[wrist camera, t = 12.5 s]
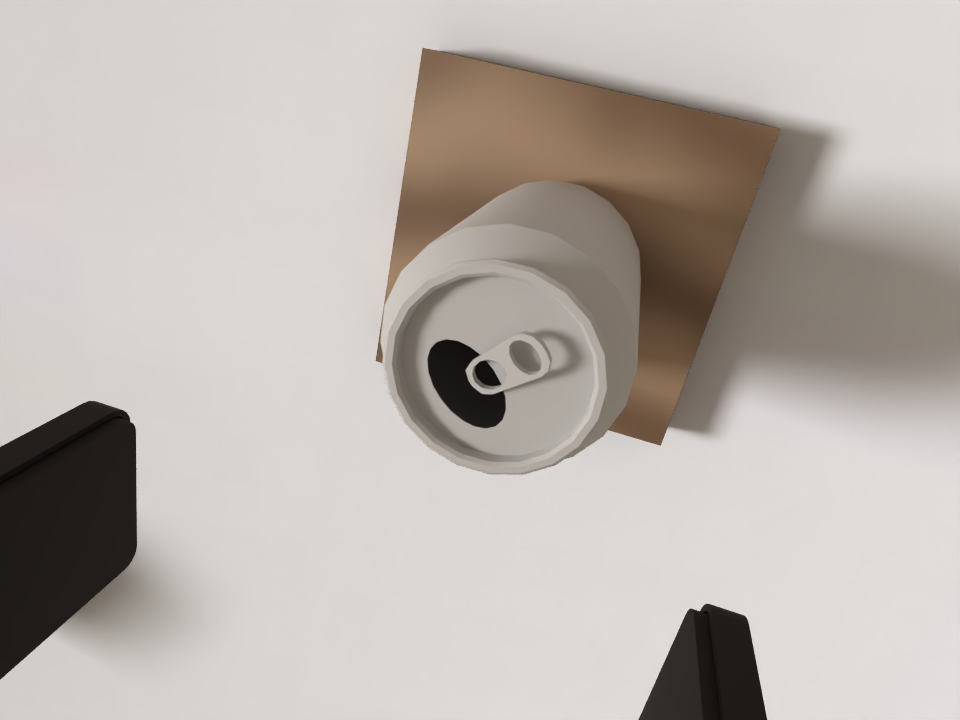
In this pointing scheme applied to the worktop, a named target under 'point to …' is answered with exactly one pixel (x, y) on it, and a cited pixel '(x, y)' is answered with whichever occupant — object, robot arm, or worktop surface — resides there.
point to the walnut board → (605, 171)
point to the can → (517, 330)
